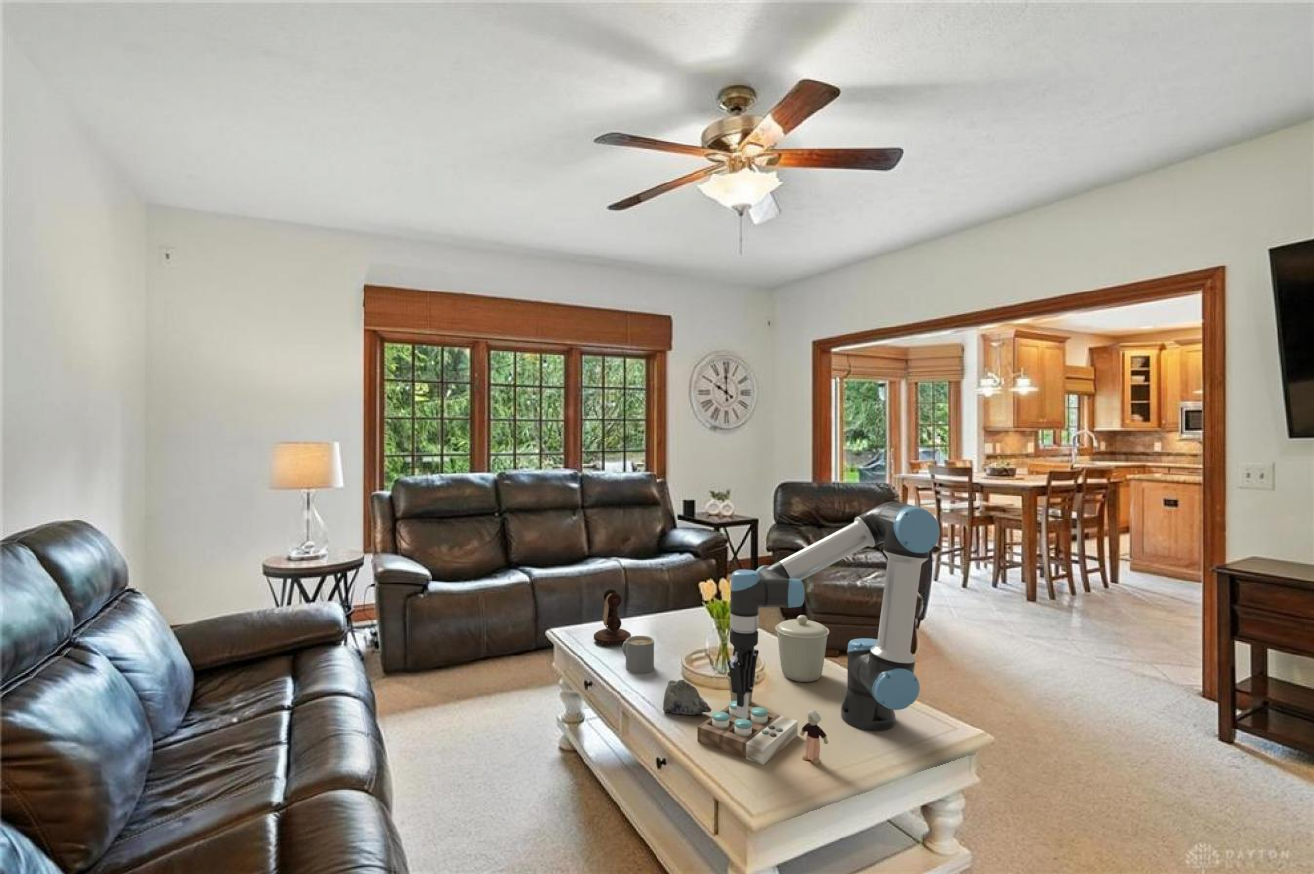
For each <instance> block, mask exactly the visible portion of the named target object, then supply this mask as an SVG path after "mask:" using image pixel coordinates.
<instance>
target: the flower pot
mask: <svg viewBox="0 0 1314 874" xmlns="http://www.w3.org/2000/svg"><path fill="white" fill-rule="evenodd" d="M725 675H726V677H727V682H728V686H729V692H730V694H729V695H730V702H732V701H737V694H736V693H733V692H732V687H731V678H730V670H728V671H726V674H725ZM757 678H758V675H757V673H755V677H754V683H756V682H755V681H756V679H757ZM754 686H755V684H754V685H753V687H751V688H750V689H752V690H753V691H752V693H750V692H748V693H749V699H748V706H751V703H752V698H753V692H754Z"/></svg>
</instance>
